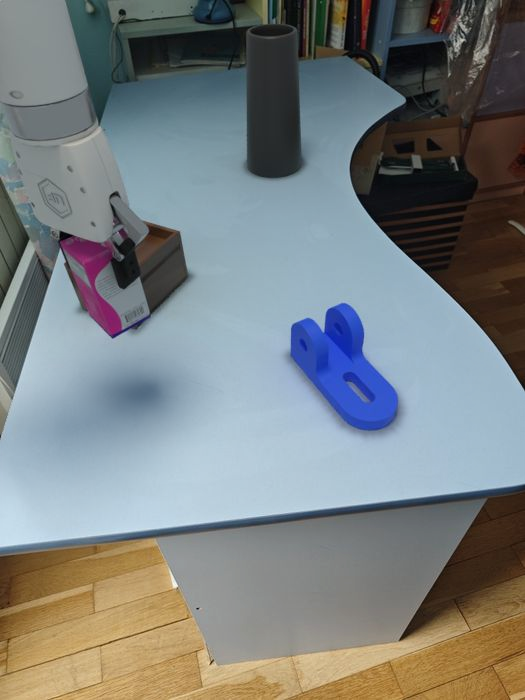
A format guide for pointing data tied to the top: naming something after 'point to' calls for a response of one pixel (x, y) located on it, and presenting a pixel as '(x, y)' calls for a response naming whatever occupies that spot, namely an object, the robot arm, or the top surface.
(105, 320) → the supplement box
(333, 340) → the bracket
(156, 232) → the wooden crate
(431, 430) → the top surface
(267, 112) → the vase
